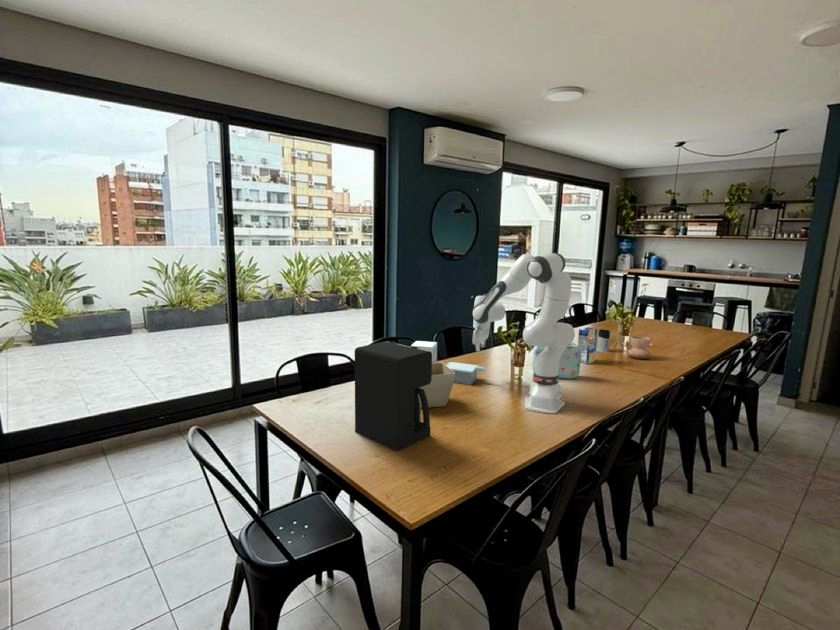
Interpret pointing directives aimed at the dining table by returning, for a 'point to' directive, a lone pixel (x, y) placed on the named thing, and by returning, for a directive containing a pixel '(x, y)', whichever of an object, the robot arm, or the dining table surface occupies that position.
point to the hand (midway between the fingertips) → (480, 349)
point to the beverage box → (587, 344)
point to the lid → (464, 367)
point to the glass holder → (604, 341)
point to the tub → (465, 377)
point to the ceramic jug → (638, 347)
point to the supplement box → (427, 348)
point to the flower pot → (439, 385)
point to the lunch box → (564, 360)
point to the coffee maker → (392, 393)
